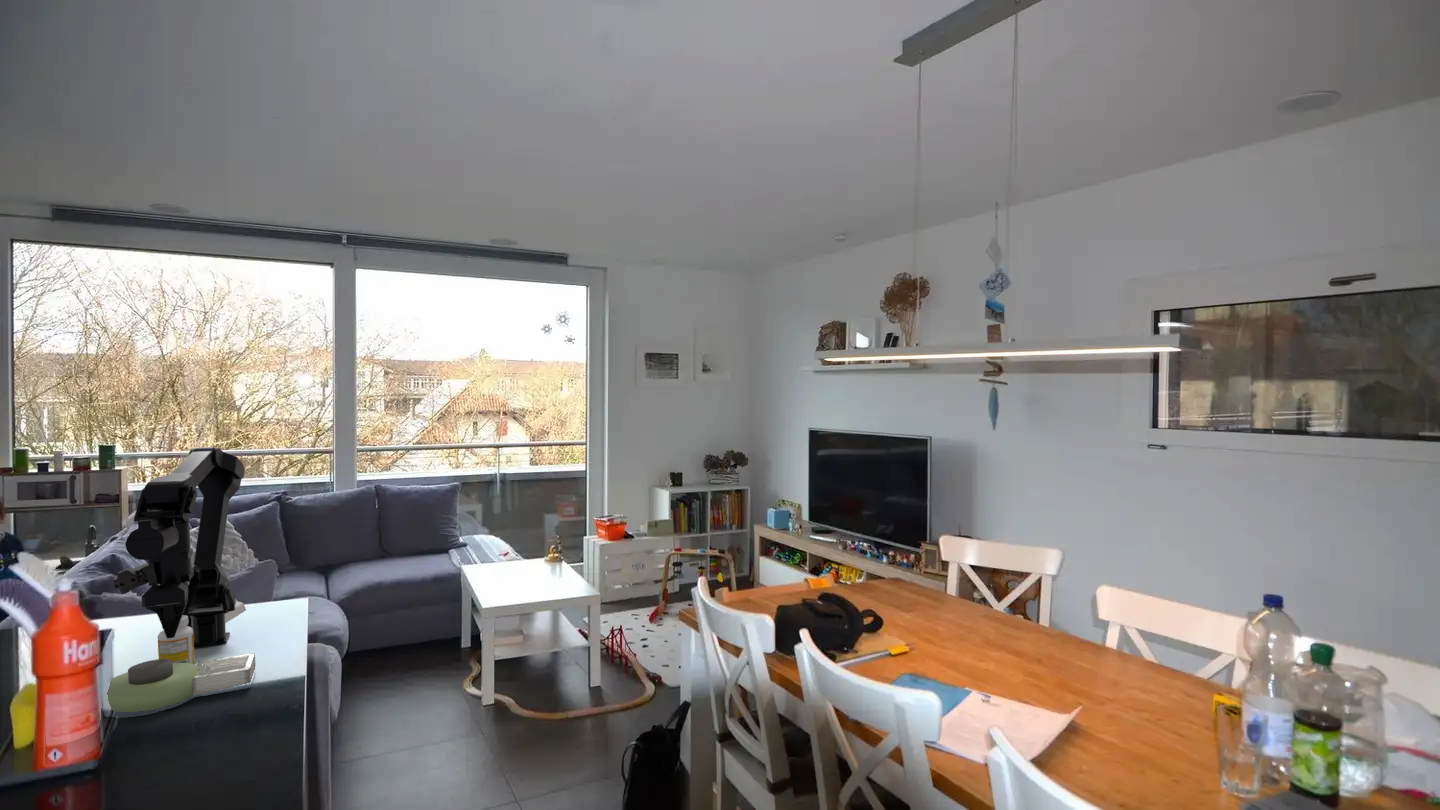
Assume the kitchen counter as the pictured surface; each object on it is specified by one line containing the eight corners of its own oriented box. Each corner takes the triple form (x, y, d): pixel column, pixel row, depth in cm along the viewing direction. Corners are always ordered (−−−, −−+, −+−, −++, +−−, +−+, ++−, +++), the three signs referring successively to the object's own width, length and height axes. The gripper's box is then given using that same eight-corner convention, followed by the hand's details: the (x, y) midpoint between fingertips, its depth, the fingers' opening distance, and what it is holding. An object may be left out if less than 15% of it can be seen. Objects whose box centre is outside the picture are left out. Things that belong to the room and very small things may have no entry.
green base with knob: (114, 694, 129) (112, 660, 129) (205, 679, 135) (203, 646, 135) (91, 725, 118) (89, 687, 117) (191, 707, 123) (190, 671, 123)
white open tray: (199, 680, 134) (198, 661, 134) (255, 671, 138) (254, 652, 138) (190, 698, 127) (189, 678, 127) (250, 688, 131) (249, 668, 130)
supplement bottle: (174, 664, 143) (171, 613, 143) (201, 664, 143) (199, 613, 142) (151, 675, 138) (149, 623, 137) (180, 675, 137) (178, 622, 137)
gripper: (130, 542, 144) (134, 623, 145) (102, 564, 127) (107, 654, 128) (200, 536, 149) (203, 613, 150) (182, 555, 132) (186, 643, 133)
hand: (175, 630), depth 140 cm, fingers open, 9 cm apart
